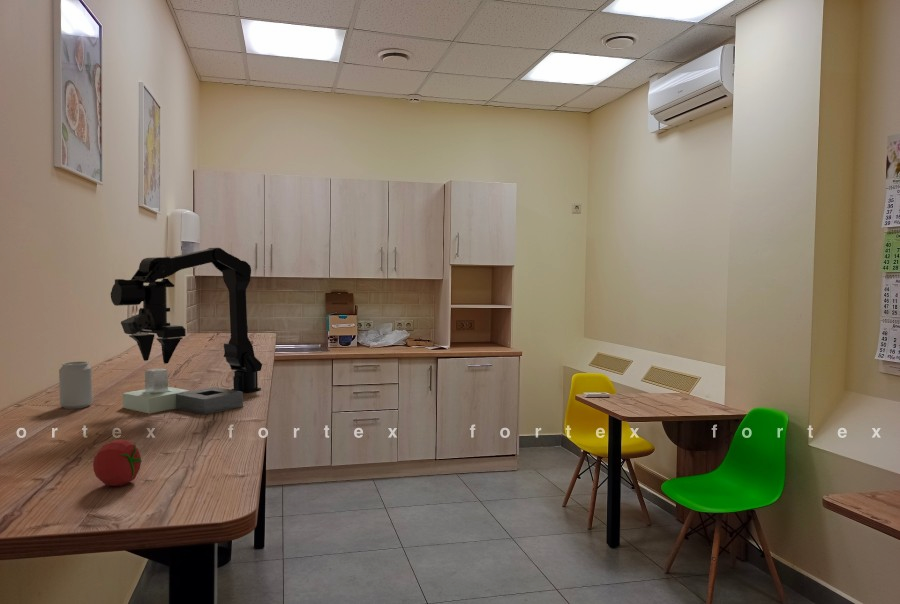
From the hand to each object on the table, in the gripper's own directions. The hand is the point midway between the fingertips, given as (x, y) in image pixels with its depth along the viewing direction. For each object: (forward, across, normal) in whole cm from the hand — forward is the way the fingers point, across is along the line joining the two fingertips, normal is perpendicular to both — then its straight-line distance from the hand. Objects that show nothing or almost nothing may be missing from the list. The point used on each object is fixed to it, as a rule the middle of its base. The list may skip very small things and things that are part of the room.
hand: (155, 362), depth 167 cm
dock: (+12, 0, 0) cm, 12 cm away
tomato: (+12, +51, -39) cm, 65 cm away
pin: (+12, 0, 0) cm, 12 cm away
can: (+12, -18, -12) cm, 25 cm away
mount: (+12, +13, +7) cm, 19 cm away
